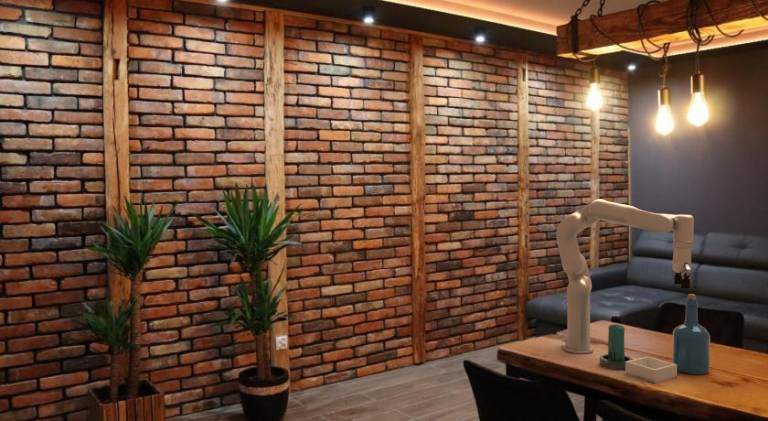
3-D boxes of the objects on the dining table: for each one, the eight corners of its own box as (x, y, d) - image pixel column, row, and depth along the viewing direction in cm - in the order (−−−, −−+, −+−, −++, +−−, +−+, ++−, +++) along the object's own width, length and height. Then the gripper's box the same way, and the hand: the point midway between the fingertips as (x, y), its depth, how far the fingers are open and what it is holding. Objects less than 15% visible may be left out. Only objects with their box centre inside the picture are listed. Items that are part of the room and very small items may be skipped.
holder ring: (593, 364, 262) (593, 356, 262) (613, 359, 269) (613, 352, 268) (618, 372, 252) (618, 364, 251) (639, 366, 258) (639, 359, 258)
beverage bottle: (625, 364, 262) (626, 315, 261) (624, 368, 256) (624, 318, 255) (608, 362, 265) (608, 314, 263) (606, 366, 259) (607, 317, 257)
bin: (625, 374, 249) (625, 361, 248) (647, 368, 255) (647, 356, 255) (655, 383, 238) (655, 370, 237) (676, 377, 244) (677, 364, 244)
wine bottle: (707, 377, 244) (709, 299, 242) (669, 372, 251) (670, 295, 249) (711, 368, 255) (712, 293, 254) (674, 363, 262) (675, 290, 261)
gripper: (667, 242, 274) (666, 282, 275) (679, 247, 257) (678, 289, 258) (686, 242, 273) (685, 282, 274) (699, 247, 256) (698, 290, 257)
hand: (681, 286), depth 266 cm, fingers open, 9 cm apart
